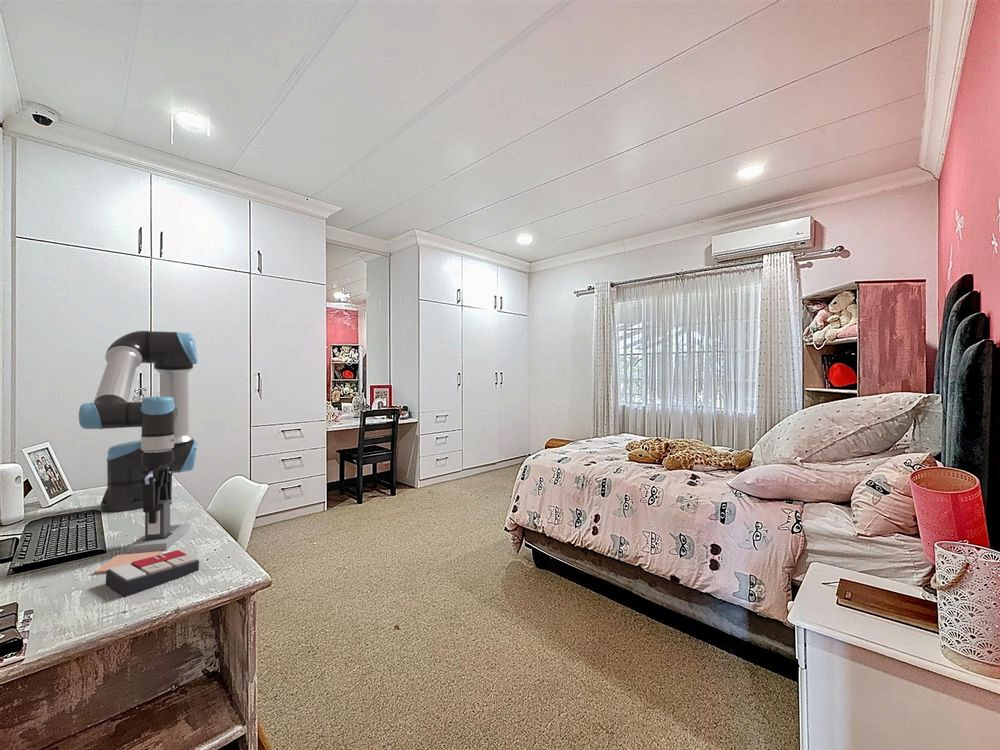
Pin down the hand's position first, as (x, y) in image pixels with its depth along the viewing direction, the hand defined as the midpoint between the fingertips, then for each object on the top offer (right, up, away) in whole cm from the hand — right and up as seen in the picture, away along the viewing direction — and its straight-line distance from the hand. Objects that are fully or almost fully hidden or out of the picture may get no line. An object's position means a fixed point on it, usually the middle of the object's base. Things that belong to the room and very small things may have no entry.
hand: (157, 530), depth 125 cm
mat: (+3, -4, -13) cm, 14 cm away
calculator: (+15, -5, -20) cm, 26 cm away
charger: (0, -4, 0) cm, 4 cm away
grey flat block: (-1, -4, +2) cm, 4 cm away
